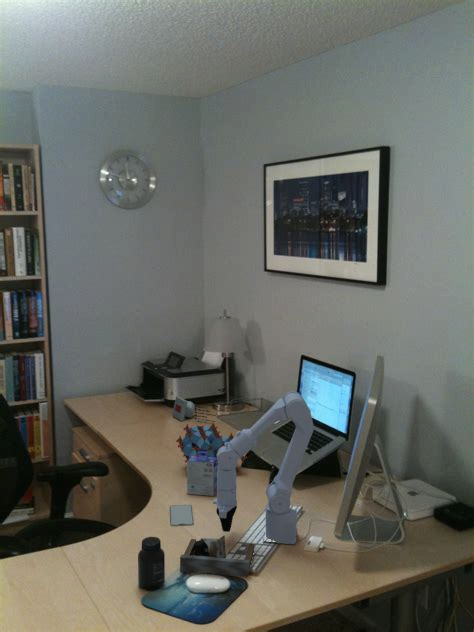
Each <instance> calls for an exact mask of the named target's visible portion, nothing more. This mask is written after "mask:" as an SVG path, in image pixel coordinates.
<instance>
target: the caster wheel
mask: <svg viewBox="0 0 474 632" xmlns="http://www.w3.org/2000/svg"><path fill="white" fill-rule="evenodd" d="M226 547H227V546H226V535H224V534H223V535H222V536H221V537H220V538H207V537H206V538H203V537H202V538H200V540H196V542H195V543H194V550H195V551H194V553H195V554H196V555H200V556H205V557H217V558H227V550H226Z"/></svg>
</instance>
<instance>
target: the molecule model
mask: <svg viewBox="0 0 474 632" xmlns="http://www.w3.org/2000/svg"><path fill="white" fill-rule="evenodd" d="M217 429H218V425H217V426H215V422H212V423H211V426H206V425H204V424H202V425H196V426H194V427H189V423H186V424H185V427H183V431H185V434H184V437H183V438H182V436H181V435H179V438H178V439H176V441H175V442H176V443H178V445H177V448H180V452H182V454H183V455H182V456H183V457H185V459H186V460H184V463H186V464H187V461H188V460H189V458H190V457H191V456H194V457H197V456H198V451H207V452H208V457H211V458H217V456H216V454H217V452H218V450H219V449H220V448H221V447H223V446H225V443H229V442H230V441H231V440H232V439H233V438H234V437H235V436H233V432H230V435H229V436H223V435H220V433H221V431H220V430H219V431H218V430H217ZM199 455H203V456H206V454H205V453H201V454H199ZM247 458H248V456H245V455H244V456H243V457H241V458H240V460H241V464H245V460H246V459H247ZM217 467H218V463H217ZM217 471H218V470H217ZM239 471H240V468H237V467H236V474H237V473H238V472H239Z"/></svg>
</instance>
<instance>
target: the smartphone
mask: <svg viewBox="0 0 474 632" xmlns="http://www.w3.org/2000/svg"><path fill="white" fill-rule="evenodd" d="M169 522H170V523H169V524H170V526H171V527H185V526H186V527H187V526H189V527H191V526H194V524H195V523H194V513H193V505H191V504H175V505H174V504H173V505H169Z"/></svg>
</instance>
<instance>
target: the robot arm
mask: <svg viewBox="0 0 474 632" xmlns="http://www.w3.org/2000/svg"><path fill="white" fill-rule="evenodd" d="M312 417H313V416H312V413H311V409H310V407H309V406H308V404H307V402H306V401H305V399H304V398H303V396H302V394H300V392H298V391H289V392H286V393H285V394H284V395H283V397H281V398H279V399H278V400H276V402H275V403H274V404H273V405H272V406H271V407H270V408H269V409H268V410H267V411H266V412H265V413H264V414H263V415H262V416H261V418H259V419H258V420H257V421H256V422H255V423H254V424H253V425H252V426H251V427H250V428H243V429H242V430H240V429H239V430H238V431H237V432H235V433H236V434H235V436H233V437H234V438H233V439H232V440H231V441H230V442H229V443H225V446H223V447H221V448H220V449H219V450H218V452H217V454H216V456H217V463H218V467H217V470H218V471H217V492H216V498H214V499H213V500H212V504H214V505H216V506H217V508H216V510H215V511H216V514H217V516H218V519H219V520H220V526H221V529H222V532H225V533H226V532H228V533H229V532H231V529H232V524H233V518H234V515H235V513H236V512H237V509H238V506H237V505H238V501H237V500H238V499H237V473H236V468H237V465H238V462H239V460H241V457H243V456H244V457H245V455H246V454H247V453H249V451H250V450H251V449H253V448H254V447H255V446H256V445H257V444H258V443H257V442H258V437H260V436H261V435H262V434H263V433H265V432H266V431H268V430H269V429H270V428H271V427H272V426H273V425H275V424H276V422H283V421H284V422H288V421H289V420H288V418H289V419H290V421H292V422H293V423H294V425H295V429H294V432H293V433H292V437H291V440H290V441H289V444H288V446H287V450H286V452H285V455H284V458H283V460H282V462H281V466H280V467H279V470H278V473H277V474H276V475H275V477H274V478H273V480H272V482H271V483H270V484H269V485H268V486H266V487H267V488H266V491H265V494H266V497H267V500H268V502H267V504H266V506H265V529H266V537H267V538H268V539H271V540H274V541H276V542H277V543H276V544H283V545H284V544H285V545H296V540H297V535H298V528H297V525H298V524H297V522H298V521H297V520H298V518H297V517H298V512H297V511H298V510H297V509H293V508H291V496H292V494H293V485H294V484H293V483H294V481H295V479H296V477H297V474H298V471H299V469H300V465H301V463H302V460H303V458H304V455H305V453H306V450H307V449H308V445H309V443H310V441H311V438H312V435H313V433H314V429H315V426H314V422H313V418H312Z"/></svg>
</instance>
